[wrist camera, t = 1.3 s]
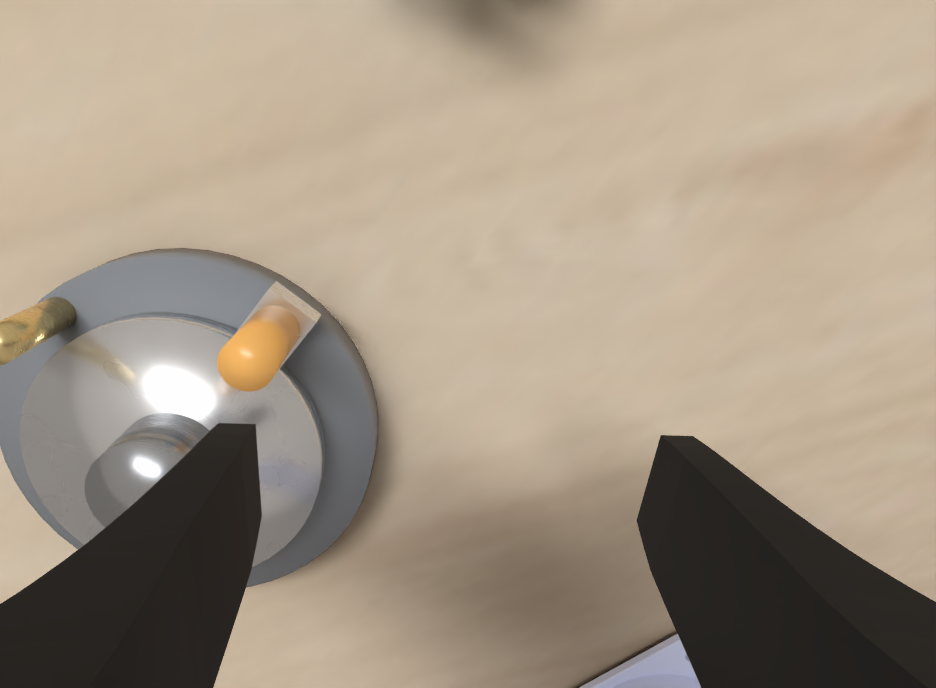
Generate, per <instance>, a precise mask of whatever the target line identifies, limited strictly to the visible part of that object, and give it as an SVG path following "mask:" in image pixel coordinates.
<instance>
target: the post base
mask: <svg viewBox="0 0 936 688" xmlns="http://www.w3.org/2000/svg"><path fill="white" fill-rule="evenodd" d="M276 281H277V282H279V283H280V284H281V285H283V286H284V287H285V288H287V289H288V290H289V291H291V292H292V293H293V294H295V295H296V296H298V297H299V298H300V299H302V300H303V301H304V302H306V303H307V304H308V305H310V306H311V307H312V308H314V309H315V310H316V311H318V312H319V313H320V314H321V316H320V318H319V319H318V321H317V323H316V324H315V325H314V326H313V328H312V329H311V330H310V331H309V333H308V334H307V335H306V336H305V338H304V339H303V340H302V341H301V343H300V344H299V345H298V346H297V348H296V349H295V350H294V351H293V353H292V354H291V355H290V356H289V358H288V359H287V360H286V361H285V364H286V366H287V367H288V368H289V369H290V370H291V371H292V372H293V373H294V374H295V376H296V377H297V378H298V380H299V381H300V382H301V384H302V385H303V386H304V388H305V390H306V392H307V393H308V395H309V397H310V398H311V400H312V402H313V404H314V407H315V409H316V412H317V414H318V416H319V419H320V423H321V427H322V431H323V436H324V445H325V467H324V472H323V477H322V482H321V485H320V488H319V491H318V494H317V497H316V500H315V502H314V505H313V508H312V511H311V512H310V514H309V516H308V518H307V520H306V522H305V523H304V525H303V526H302V528H301V529H300V530H299V532H298V533H297V534H296V536H295V537H294V538H293V539H292V540H291V541H290V542H289V543H288V544H287V545H286V546H285V547H284V548H283V549H281V550H280V551H279V552H277V553H276V554H274V555H273V556H272V557H270V558H269V559H267V560H265V561H263V562H261V563H260V564H258V565H256V566H254V567H252V569H251V573H250V576H249V579H248V582H247V585H246V587H251V586H255V585H258V584H262V583H265V582H269V581H272V580H275V579H277V578H280V577H282V576H285V575H287V574H290V573H292V572H294V571H295V570H297V569H299V568H301V567H303V566H304V565H306V564H308V563H310V562H311V561H312V560H314V559H315V558H316V557H318V556H319V555H320V554H322V553H323V552H324V551H326V550H327V549H328V548H329V547H330V546H331V545H332V544H333V543H334V542H335V541H336V540H337V539H338V538H339V537H340V536H341V534H342V533H343V532H344V530H345V529H346V528H347V526H348V525H349V524H350V522H351V521H352V519H353V518H354V516H355V514H356V512H357V510H358V508H359V507H360V505H361V503H362V500H363V497H364V495H365V492H366V489H367V487H368V484H369V479H370V474H371V470H372V465H373V461H374V456H375V451H376V446H377V437H378V414H377V404H376V399H375V394H374V390H373V386H372V382H371V379H370V377H369V374H368V372H367V369H366V366H365V364H364V361H363V359H362V358H361V356H360V354H359V352H358V350H357V349H356V347H355V345H354V343H353V341H352V340H351V339H350V337H349V336H348V335H347V333H346V332H345V331H344V329H343V328H342V326H341V325H340V324H339V322H338V321H337V320H336V319H335V318H334V317H333V316H332V315H331V314H330V313H329V312H328V311H327V310H326V309H325V308H324V307H323V306H322V305H321V304H320V303H319V302H318V301H317V300H315V299H314V298H313V297H312V296H311V295H309V294H308V293H307V292H306V291H304V290H303V289H302V288H300V287H299V286H297V285H296V284H294V283H292V282H291V281H289V280H288V279H286V278H285V277H283V276H281V275H280V274H278V273H275V272H273V271H271V270H269V269H267V268H265V267H263V266H261V265H259V264H256V263H253V262H250V261H248V260H245V259H242V258H239V257H236V256H233V255H228V254H223V253H218V252H214V251H209V250H198V249H187V248H175V249H156V250H150V251H145V252H139V253H133V254H130V255H127V256H124V257H121V258H118V259H115V260H112V261H109V262H107V263H105V264H103V265H101V266H98V267H96V268H94V269H92V270H90V271H87V272H85V273H83V274H81V275H79V276H77V277H75V278H73V279H71V280H69V281H67V282H65V283H63V284H62V285H60V286H59V287H57V288H56V289H55V290H53V291H52V292H50V293H49V294H47V295H46V296H45V297H43V298H42V299H41V300H40V301H39V302H38V303H37V304H36V305H33V306H31V307H29V308H27V309H25V310H23V311H21V312H19V313H17V314H15V315H13V316H10V317H8V318H6V319H4V320H2V321H0V446H1V449H2V453H3V456H4V459H5V461H6V463H7V465H8V468H9V470H10V472H11V474H12V476H13V478H14V480H15V482H16V483H17V485H18V487H19V488H20V490H21V491H22V493H23V494H24V496H25V497H26V499H27V500H28V502H29V503H30V504H31V505H32V507H33V508H34V509H35V510H36V511H37V513H38V514H39V515H40V516H41V517H42V519H43V520H44V521H46V522H47V523H48V524H49V525H50V526H51V527H52V528H53V529H54V530H55V531H56V532H57V533H58V534H59V535H60V536H61V537H63V538H64V539H65V540H67V541H68V542H69V543H70V544H72V545H73V546H74V547H76V548H77V549H80V548H81V547H82V546H84V544H82V543H81V542H80V541H79V540H77V539H76V538H75V537H74V536H72V535H71V534H70V533H69V532H68V531H67V530H66V529H65V528H64V527H63V526H62V525H61V524H60V523H59V522H58V521H57V520H56V519H55V518H54V517H53V516H52V514H51V513H50V512H49V510H48V509H47V508H46V507H45V505H44V504H43V502H42V501H41V499H40V497H39V496H38V494H37V493H36V491H35V489H34V487H33V485H32V483H31V480H30V478H29V476H28V474H27V471H26V467H25V464H24V460H23V457H22V451H21V443H20V419H21V414H22V408H23V404H24V401H25V398H26V395H27V392H28V390H29V388H30V386H31V384H32V382H33V380H34V379H35V377H36V375H37V373H38V372H39V371H40V370H41V368H42V367H43V366H44V365H45V363H46V362H47V361H48V360H49V359H50V358H51V357H52V356H53V355H54V354H55V353H56V352H58V351H59V350H60V349H61V348H62V347H64V346H65V345H67V344H68V343H70V342H71V341H73V340H74V339H76V338H78V337H79V336H81V335H82V334H84V333H86V332H87V331H89V330H90V329H92V328H94V327H96V326H99V325H101V324H103V323H105V322H107V321H110V320H113V319H117V318H120V317H124V316H127V315H133V314H140V313H146V312H173V313H184V314H190V315H195V316H199V317H204V318H208V319H211V320H214V321H217V322H220V323H223V324H226V325H228V326H230V327H232V328H234V329H236V330H238V329H239V327H240V326H241V325H242V323H243V322H244V321H245V319H246V318H247V317H248V315H249V314H250V313H251V312H252V310H253V309H254V308H255V306H256V305H257V304H258V302H259V301H260V300H261V298H262V297H263V296H264V294H265V293H266V292H267V291H268V289H269V288H270V287H271V286H272V285H273V284H274V283H275V282H276Z"/></svg>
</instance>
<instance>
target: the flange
mask: <svg viewBox="0 0 936 688" xmlns="http://www.w3.org/2000/svg"><path fill="white" fill-rule="evenodd" d="M320 316H321V314H320V313H319V312H318V311H316V310H315V309H314V308H312V307H311V306H310V305H308V304H307V303H306V302H304V301H303V300H302V299H300V298H299V297H298V296H296V295H295V294H293V293H292V292H291V291H289V290H288V289H287V288H285V287H284V286H283V285H281V284H280V283H279V282H277V281H276V282H275V283H274V284H273V285H272V286H271V287H270V288H269V289H268V291H267V292H266V293H265V294H264V296H263V297H262V298H261V300H260V301H259V302H258V304H257V305H256V306H255V308H254V309H253V310H252V312H251V313H250V314H249V315H248V317H247V318H246V319H245V321H244V322H243V323H242V325H241V326H240V327H239V329H238V330H236V329H234V328H232V327H230V326H228V325H226V324H223V323H220V322H217V321H214V320H211V319H208V318H204V317H199V316H195V315H190V314H184V313H173V312H146V313H140V314H133V315H127V316H124V317H120V318H117V319H113V320H110V321H107V322H105V323H103V324H101V325H99V326H96V327H94V328H92V329H90V330H89V331H87V332H86V333H84V334H82V335H81V336H79V337H78V338H76V339H74V340H73V341H71V342H70V343H68V344H67V345H65V346H64V347H62V348H61V349H60V350H59V351H58V352H56V353H55V354H54V355H53V356H52V357H51V358H50V359H49V360H48V361H47V362H46V363H45V365H44V366H43V367H42V368H41V370H40V371H39V372H38V373H37V375H36V377H35V379H34V380H33V382H32V384H31V386H30V388H29V390H28V392H27V395H26V398H25V401H24V404H23V408H22V414H21V419H20V443H21V451H22V457H23V460H24V464H25V467H26V471H27V474H28V476H29V478H30V480H31V483H32V485H33V487H34V489H35V491H36V493H37V494H38V496H39V497H40V499H41V501H42V502H43V504H44V505H45V507H46V508H47V509H48V510H49V512H50V513H51V514H52V516H53V517H54V518H55V519H56V520H57V521H58V522H59V523H60V524H61V525H62V526H63V527H64V528H65V529H66V530H67V531H68V532H69V533H70V534H71V535H72V536H74V537H75V538H76V539H77V540H79V541H80V542H81V543H82V544H84V545H85V544H86V543H87V542H89V541H90V540H91V539H92V538H94V537H95V536H96V535H97V534H98V533H99V532H101V531H102V530H103V529H104V528H105V527H107V526H108V525H109V524H110V523H111V522H113V521H114V520H115V519H116V518H117V517H119V516H120V515H121V514H122V513H123V512H125V511H126V510H127V509H128V508H129V507H130V506H131V505H133V504H134V503H135V502H136V501H137V500H138V499H139V498H140V497H141V496H143V495H144V494H145V493H146V492H147V491H148V490H149V489H150V488H151V487H152V486H153V485H154V484H155V483H157V482H158V481H159V480H160V479H161V478H162V477H163V476H164V475H165V474H166V473H167V472H168V471H169V470H170V469H171V468H172V467H174V466H175V465H176V464H177V463H178V462H179V461H180V460H181V459H182V458H183V457H184V456H185V455H186V454H187V453H188V452H189V451H190V450H191V449H192V448H193V447H194V446H195V445H196V444H197V443H198V442H199V441H200V440H201V439H202V438H203V437H204V436H205V435H206V434H207V433H208V432H209V431H210V430H211V429H212V428H213V427H215V426H216V425H217V424H218V423H237V424H256V436H257V451H258V466H259V481H260V495H261V510H262V518H261V523H260V529H259V534H258V539H257V545H256V550H255V554H254V559H253V564H252V567H254V566H256V565H258V564H260V563H261V562H263V561H265V560H267V559H269V558H270V557H272V556H273V555H274V554H276V553H277V552H279V551H280V550H281V549H283V548H284V547H285V546H286V545H287V544H288V543H289V542H290V541H291V540H292V539H293V538H294V537H295V536H296V534H297V533H298V532H299V530H300V529H301V528H302V526H303V525H304V523H305V522H306V520H307V518H308V516H309V514H310V512H311V511H312V508H313V505H314V502H315V500H316V497H317V494H318V491H319V488H320V485H321V482H322V477H323V472H324V467H325V445H324V436H323V431H322V427H321V423H320V419H319V416H318V414H317V412H316V409H315V407H314V404H313V402H312V400H311V398H310V397H309V395H308V393H307V392H306V390H305V388H304V386H303V385H302V384H301V382H300V381H299V380H298V378H297V377H296V376H295V374H294V373H293V372H292V371H291V370H290V369H289V368H288V367H287V366H286V364H285V361H286V360H287V359H288V358H289V356H290V355H291V354H292V353H293V351H294V350H295V349H296V348H297V346H298V345H299V344H300V343H301V341H302V340H303V339H304V338H305V336H306V335H307V334H308V333H309V331H310V330H311V329H312V328H313V326H314V325H315V324H316V323H317V321H318V319H319V318H320Z"/></svg>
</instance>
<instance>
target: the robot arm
mask: <svg viewBox="0 0 936 688" xmlns="http://www.w3.org/2000/svg"><path fill="white" fill-rule="evenodd" d="M261 518H262V510H261V495H260V481H259V466H258V451H257V436H256V424H237V423H218V424H217V425H216V426H215V427H213V428H212V429H211V430H210V431H209V432H208V433H207V434H206V435H205V436H204V437H203V438H202V439H201V440H200V441H199V442H198V443H197V444H196V445H195V446H194V447H193V448H192V449H191V450H190V451H189V452H188V453H187V454H186V455H185V456H184V457H183V458H182V459H181V460H180V461H179V462H178V463H177V464H176V465H175V466H174V467H172V468H171V469H170V470H169V471H168V472H167V473H166V474H165V475H164V476H163V477H162V478H161V479H160V480H159V481H158V482H157V483H155V484H154V485H153V486H152V487H151V488H150V489H149V490H148V491H147V492H146V493H145V494H144V495H143V496H141V497H140V498H139V499H138V500H137V501H136V502H135V503H134V504H133V505H131V506H130V507H129V508H128V509H127V510H126V511H125V512H123V513H122V514H121V515H120V516H119V517H117V518H116V519H115V520H114V521H113V522H111V523H110V524H109V525H108V526H107V527H105V528H104V529H103V530H102V531H101V532H99V533H98V534H97V535H96V536H95V537H94V538H92V539H91V540H90V541H89V542H87V543H86V544H85V545H84V546H82V547H81V548H80V549H78V550H77V551H76V552H75V553H73V554H72V555H71V556H69V557H68V558H67V559H65V560H64V561H63V562H61V563H60V564H59V565H57V566H56V567H54V568H53V569H52V570H50V571H49V572H47V573H46V574H45V575H43V576H42V577H40V578H39V579H37V580H36V581H35V582H33V583H32V584H30V585H29V586H27V587H26V588H24V589H23V590H21V591H20V592H19V593H17V594H16V595H14V596H12V597H11V598H9V599H8V600H6V601H4V602H3V603H1V604H0V688H213V686H214V683H215V680H216V677H217V674H218V671H219V668H220V665H221V662H222V659H223V656H224V653H225V650H226V647H227V644H228V641H229V638H230V635H231V632H232V629H233V625H234V622H235V619H236V616H237V613H238V610H239V607H240V604H241V601H242V598H243V595H244V592H245V588H246V585H247V582H248V579H249V576H250V573H251V569H252V564H253V559H254V554H255V550H256V545H257V539H258V534H259V529H260V523H261ZM637 523H638V527H639V531H640V534H641V538H642V542H643V546H644V549H645V553H646V556H647V560H648V563H649V566H650V570H651V572H652V575H653V577H654V580H655V582H656V585H657V587H658V589H659V592H660V594H661V596H662V599H663V601H664V603H665V606H666V608H667V610H668V613H669V615H670V617H671V619H672V622H673V624H674V626H675V629H676V631H677V633H678V634H676V635H674V636H672V637H670V638H669V639H667V640H665V641H663V642H661V643H659V644H658V645H656V646H654V647H652V648H650V649H648V650H647V651H645V652H643V653H641V654H639V655H638V656H636V657H634V658H632V659H630V660H628V661H627V662H625V663H623V664H621V665H619V666H618V667H616V668H614V669H612V670H610V671H608V672H607V673H605V674H603V675H601V676H599V677H598V678H596V679H594V680H592V681H590V682H588V683H587V684H585V685H583V686H581V687H579V688H936V602H935V601H933V600H931V599H929V598H928V597H926V596H924V595H922V594H920V593H919V592H917V591H915V590H913V589H912V588H910V587H908V586H907V585H905V584H903V583H902V582H900V581H898V580H897V579H895V578H893V577H892V576H890V575H888V574H887V573H885V572H883V571H882V570H880V569H878V568H877V567H875V566H873V565H872V564H870V563H868V562H867V561H865V560H864V559H862V558H860V557H859V556H857V555H856V554H854V553H853V552H851V551H850V550H848V549H847V548H845V547H844V546H842V545H841V544H839V543H838V542H836V541H835V540H833V539H832V538H831V537H829V536H828V535H826V534H825V533H823V532H822V531H820V530H819V529H817V528H816V527H814V526H813V525H812V524H810V523H809V522H807V521H806V520H805V519H803V518H802V517H801V516H799V515H798V514H796V513H795V512H794V511H792V510H791V509H790V508H788V507H787V506H786V505H784V504H783V503H782V502H780V501H779V500H778V499H776V498H775V497H774V496H772V495H771V494H770V493H768V492H767V491H766V490H764V489H763V488H762V487H760V486H759V485H758V484H756V483H755V482H754V481H753V480H751V479H750V478H749V477H747V476H746V475H745V474H743V473H742V472H741V471H740V470H738V469H737V468H736V467H734V466H733V465H732V464H730V463H729V462H728V461H727V460H725V459H724V458H723V457H721V456H720V455H719V454H717V453H716V452H715V451H713V450H712V449H711V448H709V447H708V446H706V445H705V444H704V443H702V442H701V441H699V440H698V439H696V438H695V437H693V436H666V435H661V437H660V440H659V444H658V447H657V451H656V454H655V458H654V461H653V465H652V468H651V472H650V475H649V479H648V482H647V486H646V489H645V493H644V497H643V500H642V504H641V507H640V511H639V514H638V518H637Z"/></svg>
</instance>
